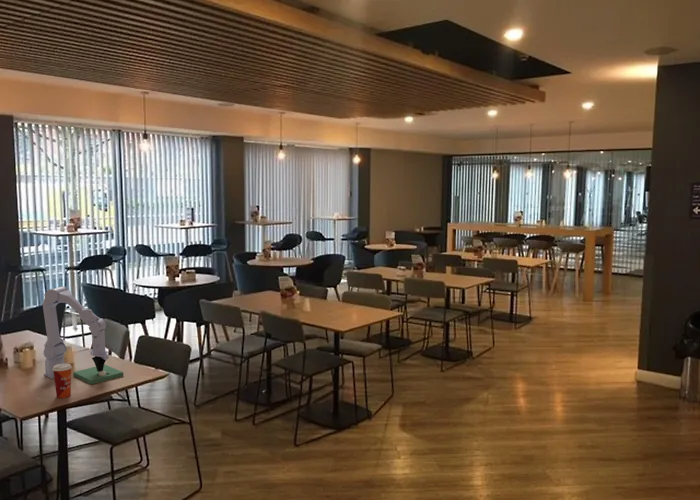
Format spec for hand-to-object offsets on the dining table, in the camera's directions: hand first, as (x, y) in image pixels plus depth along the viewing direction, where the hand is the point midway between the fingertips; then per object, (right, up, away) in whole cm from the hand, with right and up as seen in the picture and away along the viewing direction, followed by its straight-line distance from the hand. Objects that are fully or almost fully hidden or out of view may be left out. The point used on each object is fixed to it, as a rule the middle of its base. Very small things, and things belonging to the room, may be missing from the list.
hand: (100, 371), depth 284 cm
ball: (+2, -1, -1) cm, 3 cm away
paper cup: (-5, -6, -25) cm, 27 cm away
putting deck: (-2, -3, +2) cm, 4 cm away
